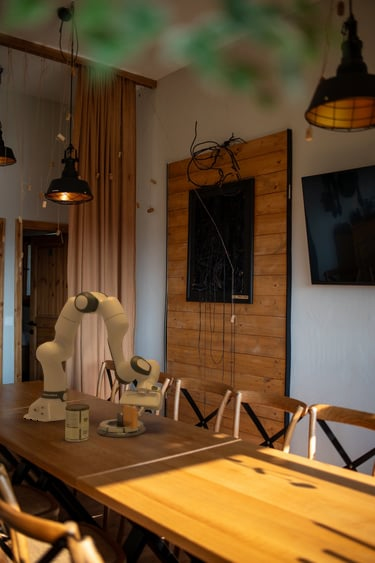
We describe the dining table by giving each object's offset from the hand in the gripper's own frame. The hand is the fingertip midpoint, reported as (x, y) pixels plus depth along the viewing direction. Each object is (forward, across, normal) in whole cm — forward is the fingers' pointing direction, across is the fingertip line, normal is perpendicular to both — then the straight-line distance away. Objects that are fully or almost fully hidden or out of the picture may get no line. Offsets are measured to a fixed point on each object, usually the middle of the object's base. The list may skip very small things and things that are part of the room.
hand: (136, 415), depth 245 cm
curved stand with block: (+4, -7, +4) cm, 9 cm away
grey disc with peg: (+5, -8, +6) cm, 11 cm away
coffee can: (+18, -21, -6) cm, 28 cm away
